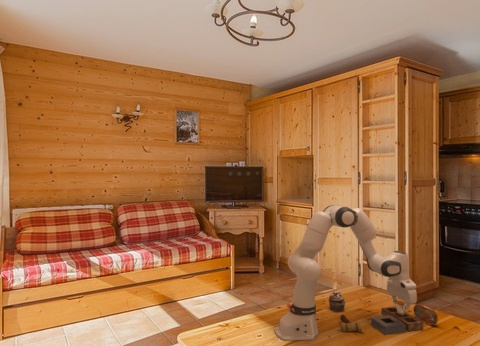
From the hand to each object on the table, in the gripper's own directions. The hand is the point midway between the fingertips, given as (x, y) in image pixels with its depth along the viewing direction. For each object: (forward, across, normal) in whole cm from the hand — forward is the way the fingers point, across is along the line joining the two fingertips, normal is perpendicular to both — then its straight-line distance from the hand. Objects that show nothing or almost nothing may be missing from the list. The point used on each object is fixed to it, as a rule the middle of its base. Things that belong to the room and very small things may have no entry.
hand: (401, 306), depth 189 cm
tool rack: (+9, 0, 0) cm, 9 cm away
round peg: (+9, 0, 0) cm, 9 cm away
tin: (+9, +3, +13) cm, 16 cm away
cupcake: (+9, -25, -25) cm, 36 cm away
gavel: (+9, -5, -30) cm, 32 cm away
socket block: (+9, +5, -12) cm, 16 cm away
